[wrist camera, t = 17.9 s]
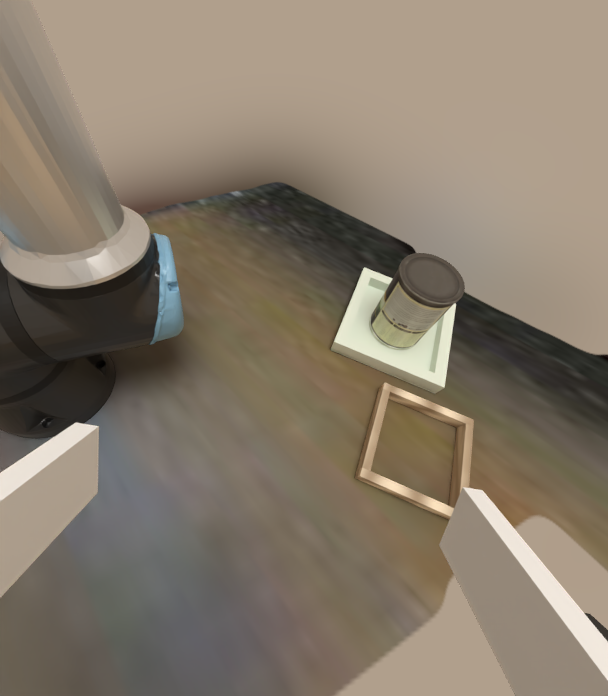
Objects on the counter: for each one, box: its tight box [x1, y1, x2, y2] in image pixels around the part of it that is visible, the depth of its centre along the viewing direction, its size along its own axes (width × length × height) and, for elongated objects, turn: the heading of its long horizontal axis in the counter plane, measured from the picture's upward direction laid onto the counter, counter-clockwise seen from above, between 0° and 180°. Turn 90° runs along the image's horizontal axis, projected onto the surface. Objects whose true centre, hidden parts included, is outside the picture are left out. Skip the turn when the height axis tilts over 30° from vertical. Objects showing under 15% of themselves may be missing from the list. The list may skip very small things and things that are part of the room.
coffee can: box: [369, 253, 465, 350], centre depth 49 cm, size 10×10×14 cm
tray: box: [330, 268, 456, 394], centre depth 55 cm, size 20×20×3 cm
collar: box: [355, 383, 474, 520], centre depth 44 cm, size 15×15×2 cm
